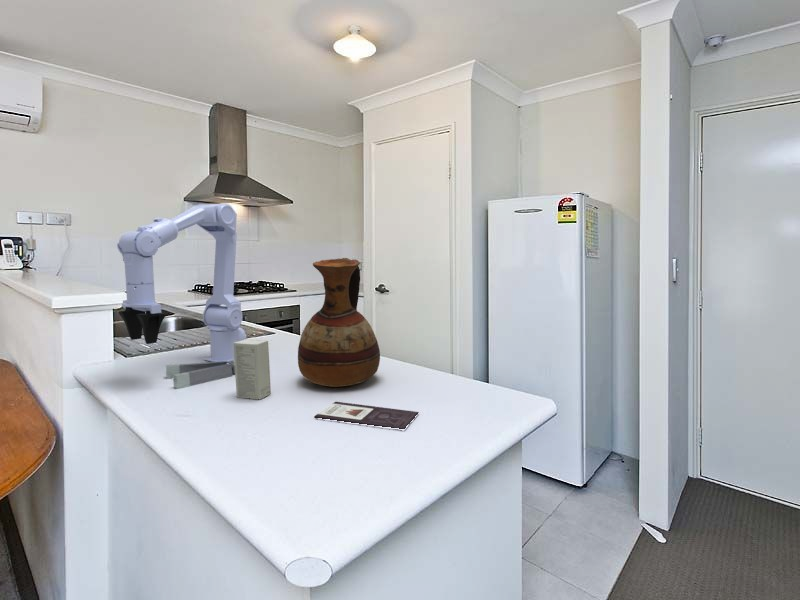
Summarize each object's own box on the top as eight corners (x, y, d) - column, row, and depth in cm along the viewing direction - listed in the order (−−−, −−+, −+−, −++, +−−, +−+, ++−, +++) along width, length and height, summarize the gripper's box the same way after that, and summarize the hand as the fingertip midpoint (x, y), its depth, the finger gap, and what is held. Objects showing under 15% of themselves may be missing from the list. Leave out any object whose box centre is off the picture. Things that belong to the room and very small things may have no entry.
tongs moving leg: (228, 374, 118) (228, 363, 118) (232, 376, 117) (231, 364, 117) (173, 387, 107) (173, 374, 107) (177, 388, 106) (176, 376, 106)
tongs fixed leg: (241, 370, 122) (241, 358, 122) (242, 374, 119) (241, 361, 119) (167, 376, 116) (166, 363, 116) (165, 380, 113) (164, 366, 113)
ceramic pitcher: (284, 390, 106) (281, 258, 102) (315, 368, 126) (314, 256, 122) (368, 395, 102) (368, 259, 99) (386, 372, 122) (387, 257, 119)
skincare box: (271, 394, 103) (270, 340, 101) (259, 400, 99) (257, 344, 97) (247, 391, 105) (245, 338, 104) (234, 397, 101) (232, 342, 99)
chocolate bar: (404, 428, 83) (314, 416, 88) (404, 433, 83) (314, 421, 88) (418, 411, 91) (335, 401, 97) (418, 416, 91) (335, 405, 97)
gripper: (107, 282, 109) (111, 340, 111) (136, 286, 101) (140, 348, 102) (139, 281, 115) (142, 335, 116) (169, 284, 106) (172, 342, 108)
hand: (143, 341), depth 110 cm, fingers open, 7 cm apart
